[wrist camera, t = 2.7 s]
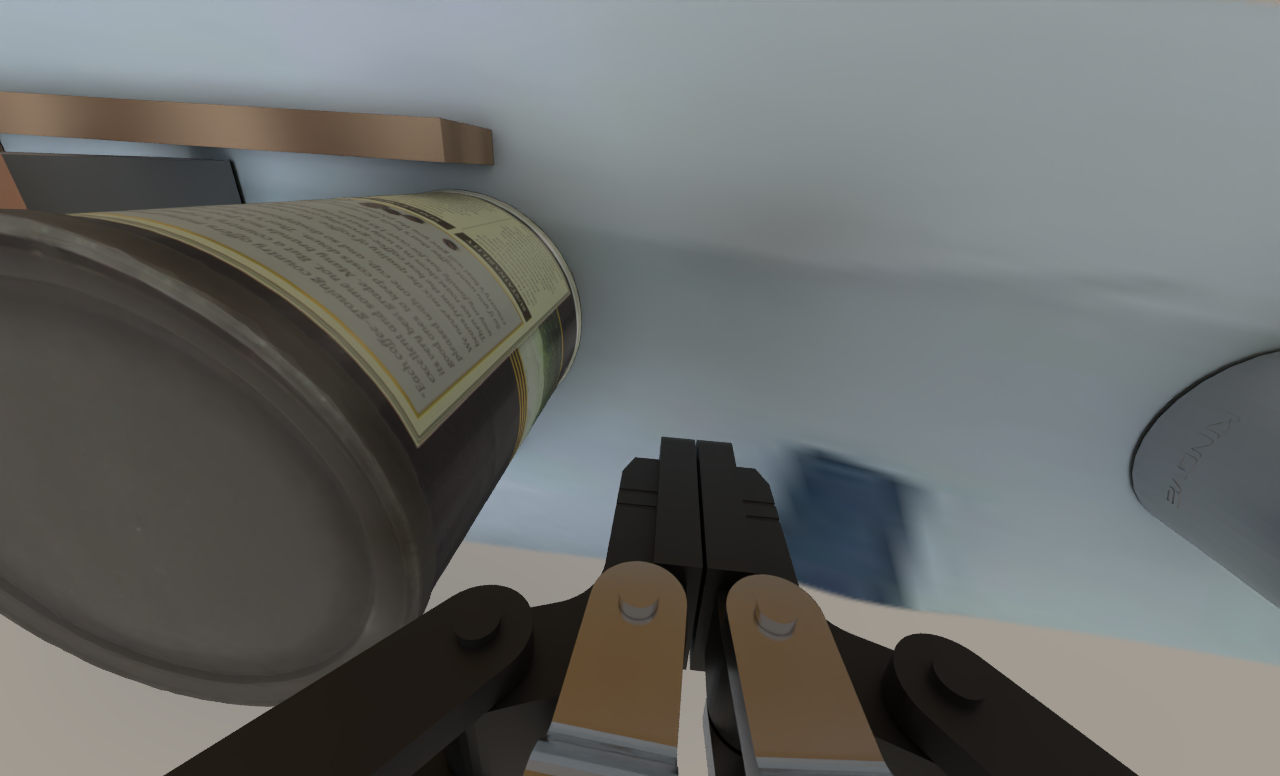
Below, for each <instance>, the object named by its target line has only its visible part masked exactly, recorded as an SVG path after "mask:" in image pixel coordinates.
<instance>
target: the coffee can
mask: <svg viewBox="0 0 1280 776" xmlns="http://www.w3.org/2000/svg"><path fill="white" fill-rule="evenodd" d="M580 335H581V309H580V302H579V296H578V293H577V288H576V285H575V282H574V279H573V276H572V274H571V272H570V270H569V268H568V266H567V264H566V262H565V261H564V259H563V257H562V255H561V254H560V252H559V251H558V249H557V248H556V247H555V245H554V244H553V243H552V241H551V240H550V239H549V238H548V237H547V236H546V234H545V233H544V232H543V231H542V230H541V229H540V228H539V227H538V226H537V225H535V224H534V223H533V222H532V221H531V220H530V219H528V218H527V217H526V216H524V215H523V214H522V213H520V212H519V211H517V210H516V209H515V208H513V207H511V206H509V205H508V204H506V203H503V202H501V201H498V200H496V199H493V198H491V197H489V196H486V195H483V194H479V193H474V192H469V191H465V190H435V191H429V192H424V193H419V194H404V195H387V196H371V197H357V198H335V199H320V200H302V201H288V202H271V203H252V204H233V205H214V206H196V207H179V208H162V209H146V210H129V211H111V212H93V213H75V214H61V213H54V212H48V211H38V210H29V209H0V614H2V615H4V616H5V617H6V618H8V619H10V620H11V621H13V622H14V623H16V624H18V625H19V626H21V627H22V628H24V629H26V630H27V631H29V632H31V633H32V634H34V635H36V636H37V637H39V638H41V639H43V640H44V641H46V642H48V643H50V644H52V645H55V646H57V647H59V648H61V649H63V650H64V651H66V652H68V653H71V654H73V655H75V656H77V657H78V658H80V659H82V660H84V661H86V662H88V663H90V664H92V665H94V666H97V667H99V668H101V669H104V670H106V671H109V672H112V673H115V674H117V675H120V676H122V677H125V678H128V679H131V680H134V681H137V682H140V683H143V684H146V685H149V686H151V687H154V688H157V689H160V690H165V691H169V692H172V693H175V694H180V695H185V696H189V697H194V698H198V699H202V700H208V701H215V702H222V703H227V704H236V705H248V706H265V707H266V706H267V707H269V706H270V707H271V706H277V705H278V704H280V703H281V702H283V701H285V700H286V699H288V698H289V697H291V696H293V695H294V694H296V693H298V692H299V691H301V690H302V689H304V688H306V687H307V686H309V685H310V684H312V683H314V682H315V681H317V680H318V679H320V678H322V677H323V676H325V675H327V674H328V673H330V672H331V671H333V670H335V669H336V668H338V667H339V666H341V665H343V664H344V663H346V662H347V661H349V660H351V659H352V658H354V657H356V656H357V655H359V654H360V653H362V652H364V651H365V650H367V649H368V648H370V647H372V646H373V645H375V644H376V643H378V642H380V641H381V640H383V639H384V638H386V637H388V636H389V635H391V634H393V633H394V632H396V631H397V630H399V629H401V628H402V627H404V626H405V625H407V624H409V623H410V622H412V621H413V620H415V619H417V618H418V617H420V616H422V615H423V613H424V611H425V609H426V606H427V604H428V602H429V599H430V595H431V592H432V590H433V588H434V586H435V585H436V582H437V581H438V579H439V578H440V576H441V575H442V573H443V572H444V570H445V568H446V567H447V565H448V564H449V562H450V560H451V559H452V557H453V555H454V553H455V552H456V550H457V549H458V547H459V546H460V544H461V543H462V541H463V539H464V538H465V536H466V534H467V533H468V531H469V529H470V527H471V526H472V524H473V522H474V521H475V519H476V517H477V516H478V514H479V513H480V511H481V509H482V508H483V506H484V504H485V502H486V501H487V500H488V498H489V496H490V495H491V493H492V491H493V490H494V488H495V486H496V485H497V483H498V481H499V480H500V478H501V477H502V475H503V473H504V472H505V470H506V468H507V467H508V465H509V463H510V462H511V460H512V459H513V457H514V455H515V454H516V452H517V450H518V449H519V447H520V446H521V444H522V442H523V441H524V439H525V438H526V436H527V435H528V433H529V431H530V429H531V427H532V426H533V424H534V423H535V421H536V419H537V418H538V416H539V415H540V413H541V412H542V410H543V408H544V406H545V405H546V403H547V401H548V400H549V398H550V397H551V395H552V393H553V392H554V390H555V389H556V387H557V386H558V384H559V383H560V382H561V381H562V380H563V378H564V377H565V376H566V374H567V373H568V371H569V369H570V367H571V365H572V363H573V361H574V359H575V356H576V353H577V350H578V346H579V342H580Z"/></svg>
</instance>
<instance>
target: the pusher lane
mask: <svg viewBox="0 0 1280 776" xmlns="http://www.w3.org/2000/svg"><path fill="white" fill-rule="evenodd" d="M0 133H9V134H24V135H39V136H55V137H70V138H85V139H100V140H115V141H130V142H145V143H160V144H175V145H191V146H206V147H221V148H236V149H251V150H266V151H281V152H296V153H312V154H327V155H342V156H357V157H372V158H387V159H402V160H417V161H432V162H448V163H468V164H487V165H494V163H493V148H492V134H491V130H490V129H485V128H481V127H477V126H472V125H468V124H464V123H459V122H455V121H450V120H446V119H442V118H430V117H413V116H397V115H380V114H363V113H347V112H330V111H314V110H297V109H280V108H264V107H247V106H231V105H214V104H197V103H181V102H164V101H148V100H131V99H114V98H98V97H81V96H65V95H48V94H31V93H15V92H0ZM0 152H4V151H3V148H2V146H1V144H0Z"/></svg>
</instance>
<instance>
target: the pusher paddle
mask: <svg viewBox="0 0 1280 776" xmlns="http://www.w3.org/2000/svg"><path fill="white" fill-rule="evenodd" d="M233 204H242V203H241V200H240V196H239V193H238V189H237V186H236V182H235V179H234V176H233V172H232V169H231V165H230V162H229V161H222V160H208V159H193V158H173V157H143V156H113V155H84V154H54V153H24V152H0V209H29V210H38V211H48V212H54V213H61V214H75V213H93V212H111V211H129V210H146V209H162V208H179V207H196V206H214V205H233Z"/></svg>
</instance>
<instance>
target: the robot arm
mask: <svg viewBox="0 0 1280 776" xmlns="http://www.w3.org/2000/svg"><path fill="white" fill-rule="evenodd" d="M1132 477H1133V486H1134V491H1135V493H1136V495H1137V497H1138V499H1139V501H1140V503H1141V504H1142V505H1143V506H1144V507H1145V508H1146V509H1147V510H1148V511H1149V512H1150V513H1151V514H1152V515H1153V516H1155V517H1156V518H1157V519H1159V520H1160V521H1161V522H1163V523H1164V524H1165V525H1167V526H1168V527H1170V528H1171V529H1172V530H1174V531H1175V532H1176V533H1178V534H1179V535H1180V536H1182V537H1183V538H1185V539H1186V540H1187V541H1189V542H1190V543H1191V544H1193V545H1194V546H1196V547H1197V548H1198V549H1200V550H1201V551H1202V552H1204V553H1205V554H1206V555H1208V556H1209V557H1211V558H1212V559H1213V560H1215V561H1216V562H1217V563H1219V564H1220V565H1221V566H1223V567H1224V568H1226V569H1227V570H1228V571H1230V572H1231V573H1232V574H1234V575H1235V576H1236V577H1238V578H1239V579H1240V580H1241V581H1243V582H1244V583H1245V584H1247V585H1248V586H1249V587H1251V588H1252V589H1254V590H1255V591H1256V592H1258V593H1259V594H1260V595H1262V596H1263V597H1264V598H1266V599H1267V600H1269V601H1270V602H1271V603H1273V604H1274V605H1275V606H1277V607H1278V608H1280V351H1278V352H1274V353H1270V354H1266V355H1261V356H1259V357H1256V358H1253V359H1251V360H1248V361H1245V362H1243V363H1240V364H1237V365H1235V366H1232V367H1230V368H1228V369H1226V370H1224V371H1222V372H1220V373H1219V374H1217V375H1215V376H1213V377H1211V378H1209V379H1207V380H1205V381H1203V382H1202V383H1201V384H1199V385H1198V386H1196V387H1195V388H1193V389H1192V390H1191V391H1189V392H1188V393H1186V394H1185V395H1184V396H1182V397H1181V398H1179V399H1178V400H1177V401H1176V402H1175V403H1174V404H1173V405H1172V406H1171V407H1170V408H1169V409H1168V410H1167V411H1166V412H1164V413H1163V414H1162V415H1161V416H1160V417H1159V418H1158V420H1157V421H1156V422H1155V424H1154V425H1153V426H1152V428H1151V429H1150V430H1149V432H1148V433H1147V434H1146V436H1145V437H1144V439H1143V441H1142V443H1141V445H1140V448H1139V450H1138V452H1137V454H1136V456H1135V461H1134V466H1133V471H1132ZM774 504H775V503H774V499H773V496H772V492H771V489H770V485H769V484H768V483H767V482H766V481H765V479H764V478H763V477H762V476H761V475H760V474H759V473H758V472H757V470H756V469H753V468H743V467H736V463H735V457H734V452H733V447H732V444H731V443H725V442H715V441H704V440H697V442H696V446H695V440H692V439H681V438H670V437H661V446H660V456H659V460H658V459H647V458H637V457H635V458H634V459H633V460H632V461H631V462H630V463H629V465H628V466H627V467H626V468H625V469H624V470H623V472H622V477H621V482H620V488H619V493H618V499H617V505H616V509H615V515H614V520H613V525H612V531H611V536H610V541H609V547H608V552H607V557H606V563H605V566H604V570H603V572H602V574H601V575H600V577H599V578H598V579H597V580H596V582H595V583H594V584H593V585H592V586H591V587H590V588H589V589H588V590H586V591H585V592H584V593H582V594H580V595H578V596H576V597H574V598H571V599H569V600H566V601H562V602H557V603H552V604H547V605H541V606H536V607H530V606H529V604H528V602H527V601H526V600H525V598H524V597H523V596H522V595H521V594H519V593H518V592H517V591H515V590H513V589H511V588H508V587H505V586H499V585H483V586H477V587H473V588H469V589H467V590H464V591H462V592H460V593H458V594H456V595H454V596H452V597H451V598H449V599H447V600H446V601H444V602H442V603H441V604H439V605H438V606H436V607H435V608H433V609H431V610H430V611H428V612H426V613H425V614H423V615H422V616H420V617H418V618H417V619H415V620H413V621H412V622H410V623H409V624H407V625H405V626H404V627H402V628H401V629H399V630H397V631H396V632H394V633H393V634H391V635H389V636H388V637H386V638H384V639H383V640H381V641H380V642H378V643H376V644H375V645H373V646H372V647H370V648H368V649H367V650H365V651H364V652H362V653H360V654H359V655H357V656H356V657H354V658H352V659H351V660H349V661H347V662H346V663H344V664H343V665H341V666H339V667H338V668H336V669H335V670H333V671H331V672H330V673H328V674H327V675H325V676H323V677H322V678H320V679H318V680H317V681H315V682H314V683H312V684H310V685H309V686H307V687H306V688H304V689H302V690H301V691H299V692H298V693H296V694H294V695H293V696H291V697H289V698H288V699H286V700H285V701H283V702H281V703H280V704H278V705H277V706H275V707H273V708H272V709H270V710H269V711H267V712H265V713H264V714H262V715H261V716H259V717H257V718H256V719H254V720H252V721H251V722H249V723H248V724H246V725H244V726H243V727H241V728H240V729H238V730H236V731H235V732H233V733H232V734H230V735H228V736H227V737H225V738H223V739H222V740H221V741H219V742H217V743H215V744H214V745H212V746H211V747H209V748H207V749H206V750H204V751H203V752H201V753H199V754H198V755H196V756H194V757H193V758H191V759H190V760H188V761H186V762H185V763H183V764H182V765H180V766H179V767H177V768H175V769H173V770H172V771H170V772H169V773H167V774H166V775H164V776H678V767H677V744H678V731H679V717H680V702H681V687H682V672H683V669H686V667H687V661H688V654H689V649H690V670H696V671H705V672H706V691H707V698H706V702H705V707H704V714H703V730H704V739H705V748H706V757H707V766H708V775H709V776H1138V775H1137V774H1136V773H1134V772H1133V771H1131V770H1130V769H1129V768H1128V767H1126V766H1125V765H1124V764H1122V763H1121V762H1120V761H1118V760H1117V759H1116V758H1114V757H1113V756H1112V755H1110V754H1109V753H1108V752H1106V751H1105V750H1104V749H1102V748H1101V747H1100V746H1098V745H1097V744H1095V743H1094V742H1093V741H1092V740H1090V739H1089V738H1088V737H1086V736H1085V735H1083V734H1082V733H1081V732H1080V731H1078V730H1077V729H1075V728H1074V727H1073V726H1071V725H1070V724H1069V723H1067V722H1066V721H1065V720H1063V719H1062V718H1061V717H1059V716H1058V715H1057V714H1055V713H1054V712H1053V711H1051V710H1050V709H1049V708H1047V707H1046V706H1045V705H1043V704H1042V703H1041V702H1039V701H1038V700H1037V699H1035V698H1034V697H1033V696H1031V695H1030V694H1029V693H1027V692H1026V691H1025V690H1023V689H1022V688H1021V687H1019V686H1018V685H1017V684H1015V683H1014V682H1013V681H1011V680H1010V679H1009V678H1007V677H1006V676H1005V675H1003V674H1002V673H1001V672H999V671H998V670H997V669H995V668H994V667H993V666H991V665H990V664H988V663H987V662H986V661H985V660H983V659H982V658H981V657H979V656H978V655H976V654H975V653H973V652H972V651H970V650H969V649H967V648H965V647H963V646H962V645H960V644H958V643H956V642H954V641H951V640H949V639H946V638H943V637H940V636H937V635H932V634H921V633H920V634H912V635H909V636H906V637H904V638H903V639H902V640H900V642H899V643H898V644H897V645H896V647H895V650H891V649H889V648H886V647H884V646H881V645H879V644H876V643H873V642H871V641H868V640H866V639H863V638H861V637H858V636H855V635H853V634H850V633H848V632H846V631H844V630H842V629H840V628H838V627H837V626H835V625H833V624H831V623H830V622H829V621H827V620H826V619H825V617H824V614H823V612H822V610H821V608H820V607H819V606H818V604H817V603H816V601H815V600H814V599H813V598H812V597H811V596H810V595H809V594H808V593H806V591H804V590H803V589H802V588H800V587H799V585H798V582H797V579H796V575H795V572H794V568H793V565H792V561H791V558H790V554H789V551H788V548H787V544H786V541H785V537H784V534H783V530H782V527H781V523H780V522H779V516H778V513H777V510H776V507H775V506H774Z"/></svg>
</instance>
